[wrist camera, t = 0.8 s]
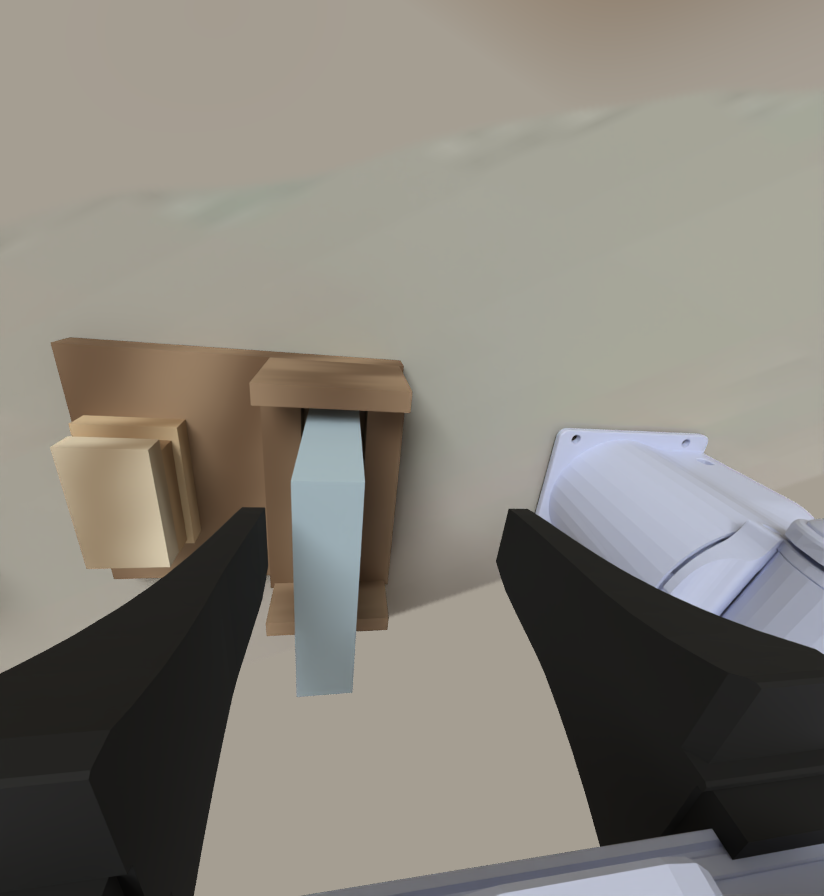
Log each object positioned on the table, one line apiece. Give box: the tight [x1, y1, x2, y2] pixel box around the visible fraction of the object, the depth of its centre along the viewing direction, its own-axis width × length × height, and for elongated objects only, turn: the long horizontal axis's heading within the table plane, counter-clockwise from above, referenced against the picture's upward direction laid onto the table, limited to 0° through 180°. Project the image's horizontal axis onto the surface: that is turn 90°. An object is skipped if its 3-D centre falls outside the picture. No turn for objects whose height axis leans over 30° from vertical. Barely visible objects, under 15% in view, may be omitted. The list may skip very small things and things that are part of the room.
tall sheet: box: [291, 408, 365, 697], centre depth 16 cm, size 2×9×8 cm, turn 174°
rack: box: [51, 337, 412, 636], centre depth 18 cm, size 14×12×5 cm
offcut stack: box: [50, 415, 201, 569], centre depth 17 cm, size 4×6×3 cm, turn 175°
